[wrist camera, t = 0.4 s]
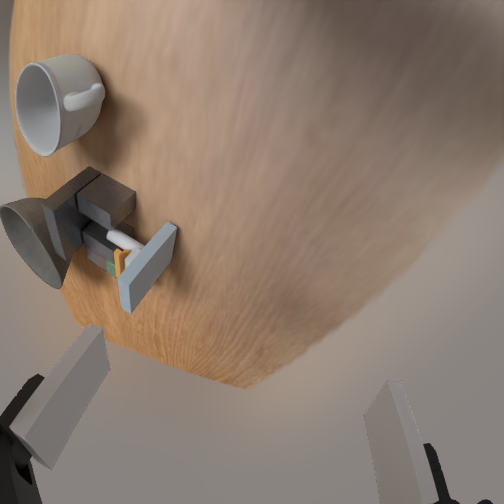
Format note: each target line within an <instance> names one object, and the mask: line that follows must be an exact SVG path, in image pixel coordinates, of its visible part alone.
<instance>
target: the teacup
mask: <svg viewBox="0 0 504 504" xmlns="http://www.w3.org/2000/svg"><path fill="white" fill-rule="evenodd" d="M104 98H105V89H104V86H103V84H102V80H101V77H100V75H99V73H98V71H97V70H96V68H95V67H94V65H93V64H92V63H91V62H90V61H89V60H88V59H86V58H85V57H83V56H80V55H75V54H69V55H62V56H57V57H53V58H49V59H45V60H42V61H39V62H32V63H29V64H27V65H26V66H25V67H24V68H23V69H22V71H21V73H20V74H19V77H18V80H17V83H16V89H15V109H16V116H17V120H18V124H19V127H20V130H21V132H22V135H23V137H24V139H25V140H26V142H27V143H28V145H29V146H30V147H31V149H32V150H33V151H34V152H35V153H37V154H38V155H40V156H43V157H47V156H50V155H52V154H53V153H55V152H56V151H57V150H58V149H60V148H62V147H64V146H66V145H67V144H69V143H71V142H73V141H74V140H76V139H78V138H79V137H81V136H82V135H84V134H85V133H87V132H88V131H89V130H90V129H91V128H92V126H93V125H94V124H95V122H96V120H97V118H98V116H99V114H100V111H101V106H102V101H103V100H104Z"/></svg>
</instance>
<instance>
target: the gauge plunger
mask: <svg viewBox="0 0 504 504" xmlns="http://www.w3.org/2000/svg"><path fill="white" fill-rule="evenodd" d="M176 232H177V227H176V226H174V225H173V224H171V223H169V222H166V223H165V225H164V226H163V227H162V228H161V229H160V230H159V231H158V232H157V233H156V234H155V235H154V237H153V238H152V239H151V240H150V241H149V242H148V243H147V244H146V246H144V245H143V244H141V243H139V242H138V241H136V240H134V239H133V238H131V237H129V236H128V235H126V234H124V233H123V232H121V231H119V230H118V229H116V228H114V229H113V230H112V231H110V230H109V232H108V234H107V239H108V240H110V241H111V242H113V243H114V244H116V245H117V246H119V247H121V248H122V249H124V250H125V249H127V250H129V251H131V252H130V253H129V255H128V256H127V257H126V258H125V270H124V271H123V272H122V273H121V275H120V276H119V277H118V286H119V294H120V301H121V308H122V309H124V310H125V311H127V312H128V313H130V314H132V313H133V311H134V310H135V308H136V307H137V306H138V304H139V303H140V302H141V300H142V299H143V297H144V296H145V295H146V293H147V292H148V291H149V289H150V288H151V287H152V285H153V284H154V283H155V281H156V280H157V279H158V277H159V276H160V275H161V273H162V272H163V271H164V270H165V268H166V267H167V266H168V264H169V263H170V262H171V260H172V254H173V248H174V243H175V237H176Z"/></svg>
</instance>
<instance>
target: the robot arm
mask: <svg viewBox="0 0 504 504" xmlns="http://www.w3.org/2000/svg"><path fill="white" fill-rule="evenodd" d="M109 371H110V365H109V360H108V355H107V349H106V344H105V338H104V331H103V328H100V327H98V326H95V325H92V324H89V325H88V326H87V327H86V328H85V330H84V331H83V332H82V333H81V334H80V336H79V337H78V338H77V339H76V340H75V341H74V343H73V344H72V345H71V346H70V347H69V349H68V350H67V351H66V352H65V353H64V355H63V356H62V357H61V359H60V360H59V361H58V362H57V363H56V365H55V366H54V367H53V368H52V370H51V371H50V372H49V373H48V375H47V376H46V377H43V376H41V375H39V374H37V375H35V376H34V377H32V378H30V379H28V381H27V382H26V383H25V384H24V386H23V387H22V389H21V390H20V391H19V392H18V393H17V396H15V397H14V399H13V400H12V401H11V403H10V404H9V405H8V407H7V408H6V409H5V411H4V412H3V413H2V415H1V416H0V504H42V501H41V498H40V494H39V491H38V488H37V484H36V481H35V476H34V473H33V468H32V464H31V462H30V458H31V457H32V456H33V457H34V458H35V459H36V461H37V462H39V463H40V464H42V465H44V466H45V467H47V468H49V469H51V470H52V469H53V467H54V465H55V463H56V462H57V460H58V458H59V456H60V454H61V452H62V451H63V449H64V447H65V445H66V443H67V441H68V440H69V438H70V436H71V434H72V433H73V431H74V429H75V427H76V426H77V424H78V422H79V420H80V419H81V417H82V415H83V413H84V412H85V410H86V409H87V407H88V405H89V403H90V402H91V400H92V398H93V397H94V395H95V394H96V392H97V390H98V388H99V387H100V385H101V384H102V382H103V380H104V379H105V377H106V376H107V374H108V372H109ZM364 420H365V425H366V429H367V434H368V439H369V444H370V449H371V454H372V459H373V465H374V470H375V476H376V482H377V487H378V494H379V500H380V504H460V503H459V502H457V501H456V500H452V499H451V498H450V496H449V493H448V489H447V486H446V482H445V479H444V476H443V472H442V470H441V465H440V463H439V460H438V456H437V453H436V451H435V450H434V448H433V447H432V446H431V444H430V443H427V444H423V443H422V440H421V437H420V434H419V431H418V428H417V425H416V422H415V419H414V416H413V414H412V411H411V408H410V406H409V403H408V400H407V397H406V395H405V392H404V389H403V387H402V385H401V382H400V381H391V380H387V381H386V383H385V384H384V386H383V388H382V389H381V390H380V392H379V393H378V395H377V396H376V398H375V400H374V401H373V403H372V404H371V405H370V407H369V408H368V410H367V411H366V412H365V414H364ZM477 504H493V503H492V502H491V501H490V500H487V499H486V500H482V501H480V502H479V503H477Z"/></svg>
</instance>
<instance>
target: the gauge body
mask: <svg viewBox="0 0 504 504" xmlns="http://www.w3.org/2000/svg"><path fill="white" fill-rule="evenodd" d="M135 193H136V192H135V191H133V190H132V189H130V188H128V187H126V186H124V185H122V184H120V183H119V182H117V181H115V180H113V179H111V178H109V177H108V176H106V175H104V174H102V175H101V173H100V172H98V171H96V170H95V169H93V168H91V167H88V168H86V169H85V170H83V171H82V172H81V173H79V174H78V175H77V176H75V177H74V178H73V179H71V180H70V181H69V182H67V183H66V184H65V185H63V186H62V187H61V188H60V189H58V190H57V191H56V192H55V193H53V194H52V195H51V196H50V197H48V198H47V199H46V200H45V201H44V202H42V207H43V211H44V215H45V219H46V222H47V226H48V229H49V233H50V236H51V240H52V243H53V246H54V249H55V252H56V253H57V254H58V255H59V256H61V257H62V258H63V259H64V260H66V261H67V260H68V259H69V258H70V257H71V256H72V254H73V253H74V252H75V251H76V250H77V249H78V248H79V247H80V246H81V245H82V244H83V243H85V248H86V253H87V258H88V259H90V260H91V261H93V262H94V263H95V264H96V265H97V266H99V267H100V268H102V269H103V270H105V271H106V272H108V273H109V274H111V275H112V276H114V277H115V278H117V279H118V277H116V270H115V261H114V251H115V250H116V249H117V248H118V249H119V250H121V251H122V252H123V251H124V249H122V248H121V247H119V246H117V245H116V244H114V243H113V242H111V241H110V240H108V239H107V234H108V232H109V230H110V231H112V230H113V229H114V228H116V229H118V230H119V231H121V232H123V233H124V234H126V235H128V236H129V237H131V238H133V239H134V228H132V227H131V226H129V225H127V224H126V223H124V222H122V220H123V219H124V218H125V217H126V216H127V215H128V214H130V213H131V212H132V211H133V210H134V209H135Z"/></svg>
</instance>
